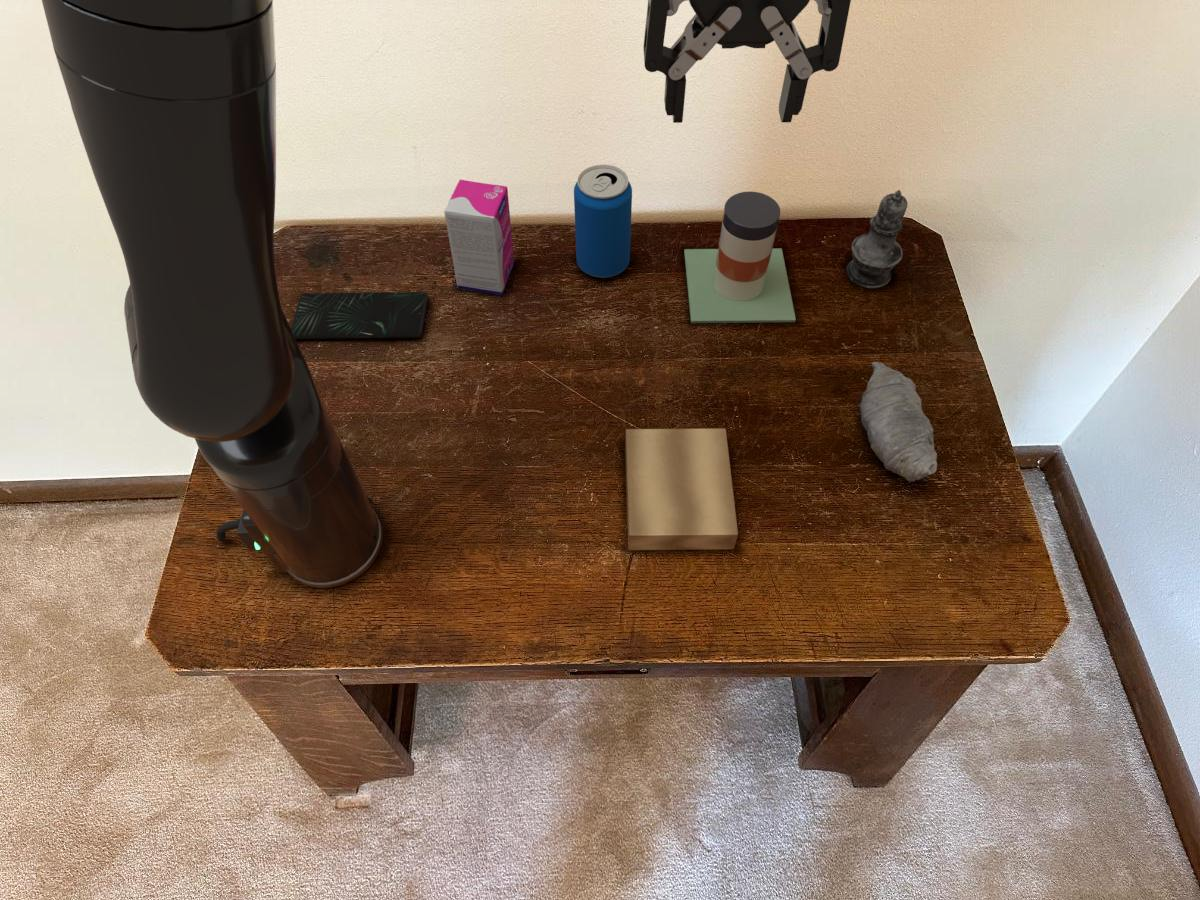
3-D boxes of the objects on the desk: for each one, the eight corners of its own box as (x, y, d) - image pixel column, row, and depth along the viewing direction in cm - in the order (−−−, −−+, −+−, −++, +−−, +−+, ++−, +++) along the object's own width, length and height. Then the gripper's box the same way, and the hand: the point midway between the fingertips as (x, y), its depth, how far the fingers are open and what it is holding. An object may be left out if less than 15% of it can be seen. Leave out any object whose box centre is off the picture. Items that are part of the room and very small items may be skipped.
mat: (690, 323, 91) (691, 320, 91) (684, 251, 98) (684, 249, 98) (795, 322, 91) (796, 320, 91) (781, 250, 98) (781, 248, 98)
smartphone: (300, 292, 93) (428, 290, 93) (303, 298, 94) (429, 296, 94) (287, 336, 89) (420, 334, 89) (290, 342, 90) (422, 340, 90)
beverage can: (639, 257, 98) (643, 174, 88) (611, 289, 95) (612, 207, 85) (594, 238, 100) (593, 155, 90) (566, 269, 96) (561, 186, 87)
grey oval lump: (909, 360, 84) (925, 336, 77) (931, 486, 82) (950, 474, 74) (847, 368, 85) (857, 345, 78) (867, 493, 83) (879, 482, 75)
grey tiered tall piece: (835, 261, 97) (861, 178, 87) (878, 251, 98) (909, 168, 88) (858, 294, 94) (888, 212, 84) (902, 284, 95) (937, 201, 85)
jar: (710, 265, 96) (715, 301, 93) (721, 191, 87) (727, 228, 84) (760, 264, 96) (767, 300, 93) (776, 190, 87) (784, 227, 84)
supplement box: (504, 296, 94) (493, 218, 84) (456, 289, 95) (440, 211, 85) (517, 262, 97) (507, 184, 88) (470, 256, 98) (456, 177, 88)
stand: (628, 550, 75) (629, 535, 73) (624, 445, 82) (625, 428, 79) (734, 549, 75) (738, 534, 73) (722, 445, 82) (725, 427, 79)
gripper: (654, -91, 48) (642, 146, 61) (891, -93, 48) (828, 145, 61) (649, -143, 52) (639, 90, 65) (867, -144, 52) (813, 89, 65)
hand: (730, 116), depth 63 cm, fingers open, 8 cm apart
